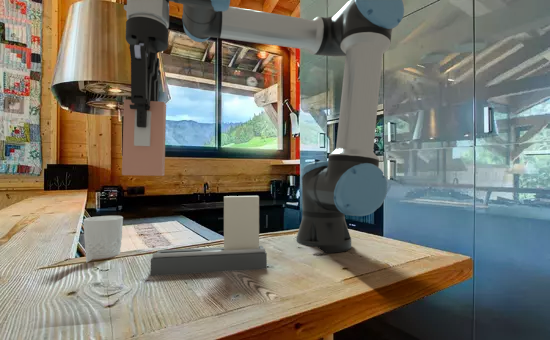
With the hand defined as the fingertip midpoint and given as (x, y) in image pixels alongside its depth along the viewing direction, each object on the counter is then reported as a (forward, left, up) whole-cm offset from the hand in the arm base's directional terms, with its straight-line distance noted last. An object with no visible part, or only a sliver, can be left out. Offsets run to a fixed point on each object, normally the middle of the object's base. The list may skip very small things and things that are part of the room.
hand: (144, 146), depth 56 cm
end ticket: (0, 0, -6) cm, 6 cm away
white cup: (+13, -15, -26) cm, 32 cm away
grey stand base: (-12, -1, -25) cm, 28 cm away
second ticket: (-18, -1, -24) cm, 30 cm away
